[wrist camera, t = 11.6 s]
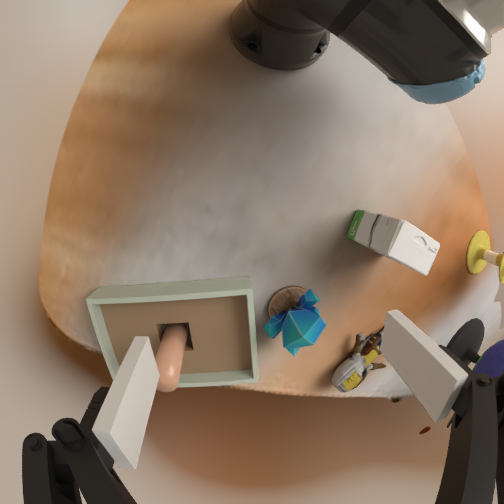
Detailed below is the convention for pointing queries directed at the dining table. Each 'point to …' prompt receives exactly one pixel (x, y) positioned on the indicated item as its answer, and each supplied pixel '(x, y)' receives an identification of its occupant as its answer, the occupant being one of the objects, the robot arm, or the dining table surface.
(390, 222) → the ink box
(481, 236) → the candle
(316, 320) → the gemstone
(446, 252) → the dining table surface
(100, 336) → the box
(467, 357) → the globe
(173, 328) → the peg
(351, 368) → the toy
